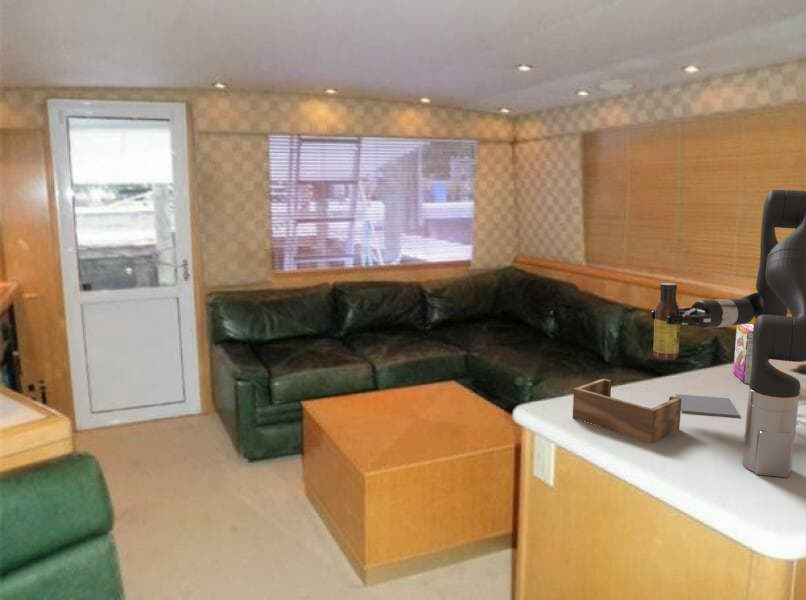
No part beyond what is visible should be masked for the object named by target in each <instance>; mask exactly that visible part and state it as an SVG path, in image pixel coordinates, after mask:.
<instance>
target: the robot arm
mask: <svg viewBox="0 0 806 600" xmlns="http://www.w3.org/2000/svg"><path fill="white" fill-rule="evenodd" d="M761 217H762V218H761V232H760V253H759V254H760V256H759V265H758V266H759V267H758V271H757V275H756V276H757V277H756V282H755V289H756V291H757V292H756V291H755V292H753V293H750V294H748V295H745V296H743V297H740V298H731V299H724V298H719V299H704V300H701V299H700V300H696V301H695V302H694V303H693V304H692V306H691V307H690V306H683V307H680V306H679V305H678V308H679V312H680V315H671V316H667V324H680V325H682V326H684V325H687V326H689V327H693V326H694V327H696V328H699V329H712V328H713V329H716V328H724V327H725V328H726V327H728V326H729V327H730V326H737V325H741V324H750V323H751V321H752V320H753V319H755V321H754V324H753V325H754V328H753V342H752V367H751V376H750V384H748V385H749V387H748V395H747V396H748V397H747V406H746V415H745V417H746V418H745V428H744V438H743V439H744V440H743V449H742V451H743V452H742V461H741V462H742V463H741V464H742V465H743V467H744V468H745V469H748V470H749V471H751V472H753V473H754V474H755V475H760V476H771V477H778V478H779V477H780V478H789V475H790V474H791V473H792V467H793V459H794V448H795V439H796V427H797V420H798V419H797V418H798V410H799V402H800V393H801V382H800V381H799V379H798V378H797V377H795V376H793V375H791V374H788V373H786V372H784V371H782V370H779V369H778V368H776V367H775V366H774V365H773V364H771V363H770V360H774V361H781V362H784V361H785V362H795V363H804V362H806V190H795V189H793V190H792V189H772V190H770V191H769V192H768V193H767V195H766V197H765V199H764V204H763V210H762V216H761ZM776 228H782V229H793V230H794V231H792V232H791V233H790V234H789V235H788V236H786V237H785V238H783V239H781V241H778V239H777V236H776V235H777V234H776ZM788 311H789V313H790V314H791V316H788ZM650 319H651V320H655V310H652V311H650Z"/></svg>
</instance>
